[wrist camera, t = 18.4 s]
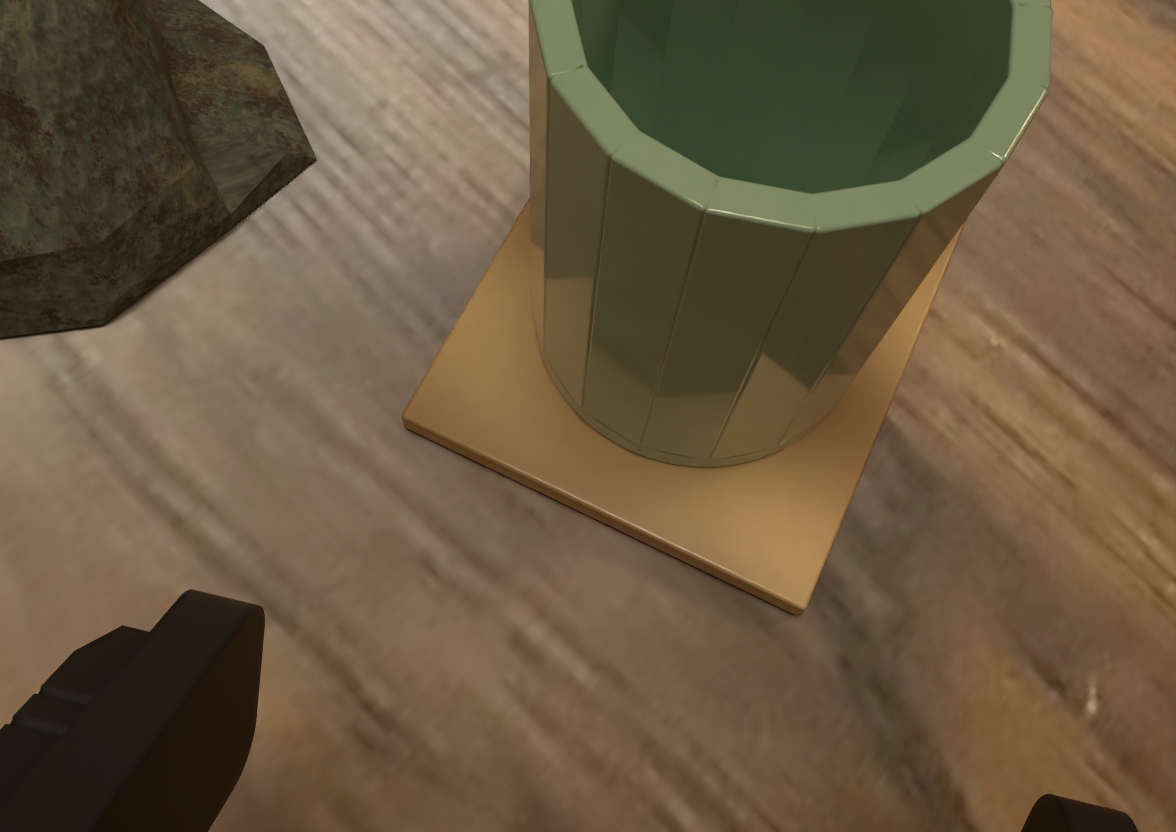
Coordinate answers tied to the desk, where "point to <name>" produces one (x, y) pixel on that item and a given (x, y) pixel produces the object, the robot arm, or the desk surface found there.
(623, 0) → the pot
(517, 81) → the desk surface
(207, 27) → the sword in stone
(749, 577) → the spatula
